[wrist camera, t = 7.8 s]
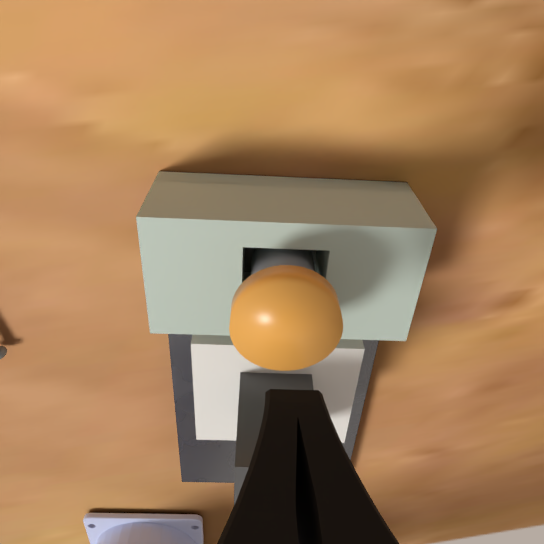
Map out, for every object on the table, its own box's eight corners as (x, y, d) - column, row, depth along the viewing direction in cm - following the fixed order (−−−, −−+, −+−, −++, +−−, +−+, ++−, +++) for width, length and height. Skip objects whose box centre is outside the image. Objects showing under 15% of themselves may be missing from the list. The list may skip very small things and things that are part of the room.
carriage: (339, 415, 24) (360, 537, 19) (200, 412, 23) (182, 535, 18) (358, 323, 20) (388, 442, 15) (195, 318, 20) (172, 437, 15)
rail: (342, 470, 30) (347, 500, 28) (184, 467, 29) (179, 497, 28) (406, 182, 19) (420, 203, 17) (159, 171, 19) (148, 191, 17)
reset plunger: (323, 301, 19) (335, 372, 16) (235, 298, 19) (229, 369, 16) (334, 222, 17) (350, 285, 14) (236, 218, 17) (229, 281, 14)
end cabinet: (384, 283, 22) (405, 341, 18) (168, 275, 21) (150, 333, 18) (406, 182, 19) (437, 229, 16) (159, 171, 19) (136, 216, 15)
